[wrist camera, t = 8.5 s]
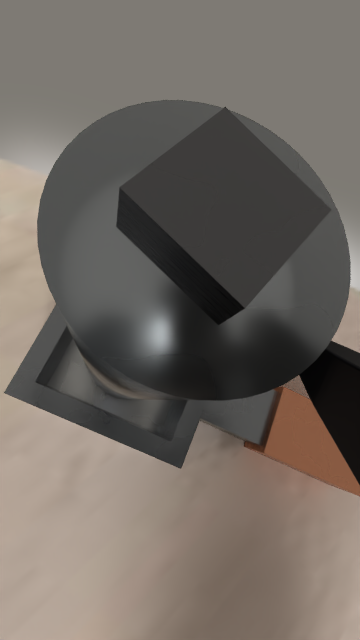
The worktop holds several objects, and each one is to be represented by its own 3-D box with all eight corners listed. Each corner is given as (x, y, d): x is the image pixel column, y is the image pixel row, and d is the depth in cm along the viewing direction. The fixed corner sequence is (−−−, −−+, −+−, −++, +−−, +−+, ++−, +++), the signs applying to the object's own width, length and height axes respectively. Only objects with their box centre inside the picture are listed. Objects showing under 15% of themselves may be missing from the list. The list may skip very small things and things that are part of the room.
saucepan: (322, 520, 18) (388, 557, 14) (29, 394, 16) (4, 392, 12) (351, 397, 21) (415, 396, 17) (97, 272, 19) (96, 236, 15)
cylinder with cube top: (131, 418, 16) (264, 505, 3) (67, 357, 16) (-90, 165, 3) (188, 355, 17) (448, 221, 4) (130, 299, 17) (214, -5, 4)
